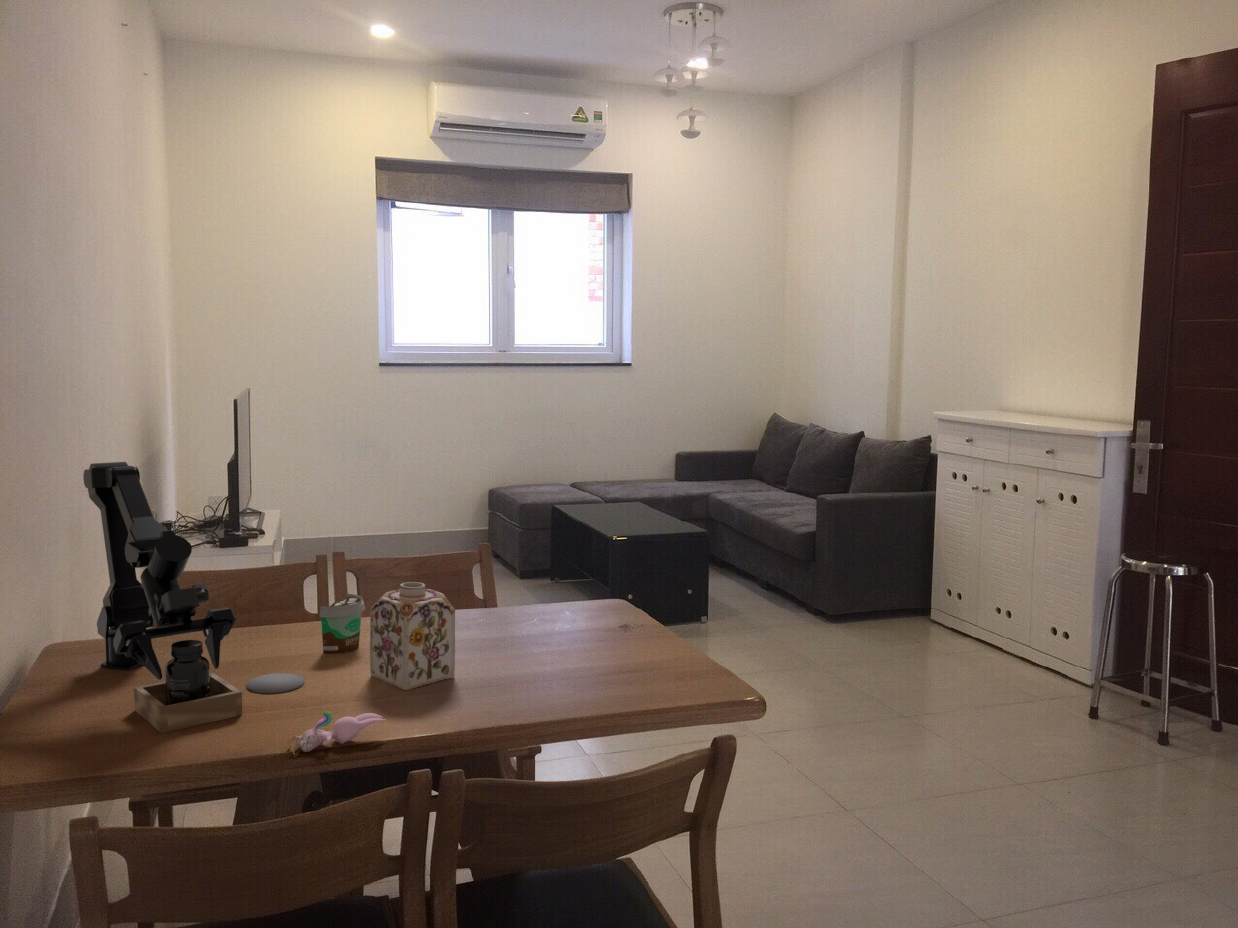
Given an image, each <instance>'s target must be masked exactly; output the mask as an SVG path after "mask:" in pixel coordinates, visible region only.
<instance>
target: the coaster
mask: <svg viewBox="0 0 1238 928" xmlns="http://www.w3.org/2000/svg"><path fill="white" fill-rule="evenodd" d="M304 685H305V677H303V676H301V675H299V674H295V673H283V672H281V673H268V674H263V675H259V676H255V677H254V678H251V679H250V680H248V681H247V683H246V689H247V690H249V691H250V692H253V693H259V694H279V693H280V694H282V693H287V692H293V691H294V690H297V689H300V688H301V687H303V686H304Z"/></svg>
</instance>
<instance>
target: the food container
mask: <svg viewBox="0 0 1238 928" xmlns="http://www.w3.org/2000/svg"><path fill="white" fill-rule="evenodd" d="M365 610H366V607H365V602H364V600H363V597H362V596H360V595H358V594H354V593H346V598H344V599H342V600H338V601H335V602H333V603H332V604H331V605H329V606H320V610H319V618H320V621H321V622H320V623H321V636H322V637H321V639H322V640H321V641H322V650H323V651H322V652H323V653H322V654H323V655H339V653H340V654H346V653H350V652H354V651H356V650H357V649H359V647H360V637H361V636H360V635H361V625H362V622H361V621H362V613H363V612H364V611H365ZM337 653H338V654H337Z"/></svg>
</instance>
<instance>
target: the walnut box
mask: <svg viewBox="0 0 1238 928" xmlns="http://www.w3.org/2000/svg"><path fill="white" fill-rule="evenodd" d="M209 674H210V697H205V698H201V699H196V700H191V701H186V702H182V703H177V704H172V705H167V706H166V680H165V681H161V682H160V681H159V682H155V683H150V684H146V685H141V686H140V685H139V686H135V687H133V689H134V690H133V692H134V694H133V696H134V701H133V702H134V711H135V712H136V713H137V714H139V716H141V717H142V718H143V719H144V720H145V721H146V722H147V723H149V725H150V726H152V727H154V728H155V729H156V730H157V731H158V732H159V733H160V734H165V733H169V732H173V731H177V730H182V729H187V728H190V727H196V726H199V725H200V726H201V725H204V724H209V723H213V722H217V721H223V720H226V719H227V720H228V719H231V718H236V717H239V716H242V715H243V692H242V690H240V689H238V688H237V687H236V686H234V685H232V684H230V683H229V682H227V681H226V680H224V679H223V678H222V677H220V676H219V675H217V674H215V673H213V672H209Z"/></svg>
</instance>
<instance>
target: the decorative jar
mask: <svg viewBox="0 0 1238 928" xmlns="http://www.w3.org/2000/svg"><path fill="white" fill-rule="evenodd" d="M369 617H370V621H369V624H370V625H369V627H370V629H369V631H370V632H369V633H370V634H369V664H370V665H369V670H370V672H369V673H370V676H371V677H372V678H375V679H377V680H379V681H381V682H384V683H386V684H389V685H391V686H394V687H396V688H399V689H401V690H403V691H409V690H413V689H416V688H420V687H423V685H424V686H427V684H428V685H431V683H432V684H435V683H437V682H438V681H439V682H442V681H445V680H444V679H446V680H449V679H448V678H450V679H454V678H455V676H456V673H455V672H456V668H455V666H456V609H455V608H454V607H453V606H452V604H451V602H450V600H448V598H447V597H446V596H445V594H444V593H442V592H440V591H437V590H434V589H431V588H430V589H429V588H426V584H425V583H423V582H417V581H409V582H407V581H406V582H403V583H400V584H399V589H395V590H390V591H387V592H385V593H384V594H382V596H380V597H379V598H378V599H377V600H376V602H375V603H374V604H372V606H371V607H370V615H369ZM441 680H442V681H441ZM434 682H435V683H434Z"/></svg>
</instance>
